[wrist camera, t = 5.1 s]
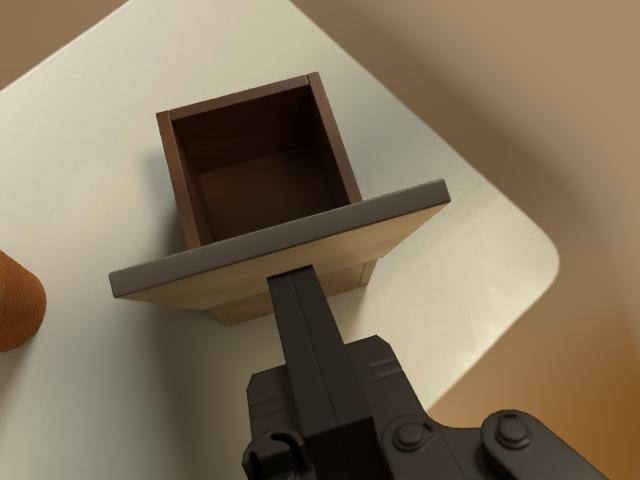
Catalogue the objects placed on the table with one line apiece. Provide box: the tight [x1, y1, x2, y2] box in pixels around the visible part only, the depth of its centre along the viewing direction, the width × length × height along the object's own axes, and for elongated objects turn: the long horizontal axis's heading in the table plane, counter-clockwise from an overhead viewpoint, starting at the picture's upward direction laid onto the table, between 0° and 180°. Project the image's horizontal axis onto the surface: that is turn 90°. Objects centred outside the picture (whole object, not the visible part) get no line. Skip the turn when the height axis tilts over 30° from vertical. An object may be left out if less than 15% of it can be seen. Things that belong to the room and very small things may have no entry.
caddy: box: [156, 72, 378, 326], centre depth 36 cm, size 13×11×9 cm
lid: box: [109, 179, 451, 310], centre depth 22 cm, size 14×11×1 cm
